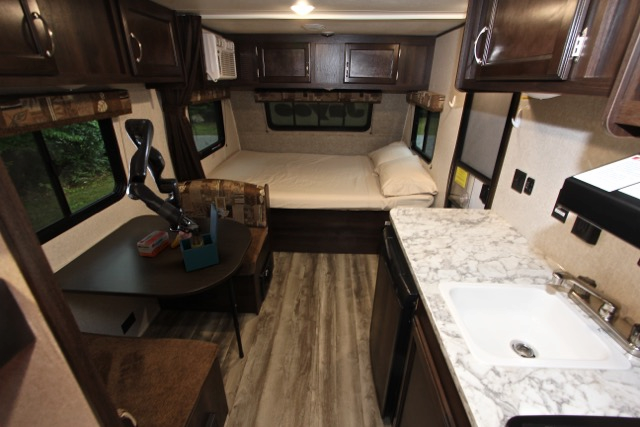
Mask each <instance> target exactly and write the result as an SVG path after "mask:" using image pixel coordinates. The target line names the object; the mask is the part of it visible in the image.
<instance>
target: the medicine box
mask: <svg viewBox="0 0 640 427" xmlns="http://www.w3.org/2000/svg"><path fill="white" fill-rule="evenodd" d="M169 245H171V240H170V235H169V233H168V231H163V230H162V231H161V230H153V231H152V232H151V233H150V234H148V235H147V236H145V237H143V238H142V239H141V240H139V241H138V242H137V243H136V246H137V250H138V253H139V255H140V256H141V257H150V258H151V257H152V258H154V257H156V256H157V255H158V254H159V253H160V252H162V251H163V250H164V249H166V247H168V246H169Z"/></svg>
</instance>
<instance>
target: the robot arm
mask: <svg viewBox="0 0 640 427" xmlns="http://www.w3.org/2000/svg"><path fill="white" fill-rule="evenodd" d="M124 129H125V132H126V134H127V136H128V138H129V139H130V140H131V141H132V144H133V145H134V146H135V147H136V151H135V152H134V153H133V155H132V156H131V157H130V159H129V160H130V161H129V169H128V180H127V185H126V195H127V197H128V198H129V199H130V200H132V201H141V202H142V203H144V204H145V206H146V208H147V209H149V210H150V211H152V212H153V213H155V214H156V215H158V216H159V217H160V218H162V219H163V220H164V221H166V222H167V223H168V226H169V230H170V231H171V232H175V233H176V232H179V231H182V232H184V233H186V234H189V233H192V234H194V235H195V236H197V237H198V236H199V235H201V231H202V230H203V228H201V227H200V226H199V232H198V231H196V230H195V229H193V228H192V227H191V226H192V225H197V224H196V220H194V218H193V217H192V216H190V214H188V213H186V214H184V210H183V205H182V204H183V203H182V199H181V193H180V185H179V181H178V179H177V178H175V177H168V178H167V177H166V178H163V177H162V175H163V172H164V171H165V167H166V160H165V158H164V157H163V154H162V153H161V151H159V150H158V149H157V148H155V147H154V146H153V145H152V144H153V140H154V135H155V126H154V124H153V121H151V120H150V119H149V118H127V119H126V120H125V121H124ZM148 171H149V173H150V175H151V177H152V178H153V181H154V183H155V187H156V189H157V191H158V192H159V193H160V194H162V195H171V196H168V197H166V198H165V199H163V198H162V197H160V196H159V195H158V194H156V193H155V192H154V191H153V190H152V189H151V188H150V187H149V186H147V185H146V184H145V183H146V182H145V181H146V178H147V175H148ZM189 228H190V229H189ZM186 230H187V231H186Z"/></svg>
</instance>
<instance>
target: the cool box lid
mask: <svg viewBox="0 0 640 427" xmlns="http://www.w3.org/2000/svg"><path fill="white" fill-rule="evenodd" d="M219 215H221V216H222V217H223V216H226V212H225V210H224V209H223V208H222V207H221V208H219V209H217V208H216V206H215V205H214V203H210V219H209V220H210V222H209V223H210V224H209V233H211V235H212V237H213V239H214V241H215V243H216V244H217V243H218V227H219V226H218V224H219Z"/></svg>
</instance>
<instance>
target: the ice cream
mask: <svg viewBox="0 0 640 427" xmlns="http://www.w3.org/2000/svg"><path fill="white" fill-rule="evenodd" d="M189 229H190V228H189ZM186 231H187V230H186ZM191 236H192V235H191V233H189V234H186V233H184V232H182V231H178V234H177V235H176V237H175V239H174V241H173V242H171V243H170V248H172V249H174V248H176V247H178V246H179V245H180V242H179V240H181V239H186V238H190V237H191Z"/></svg>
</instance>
